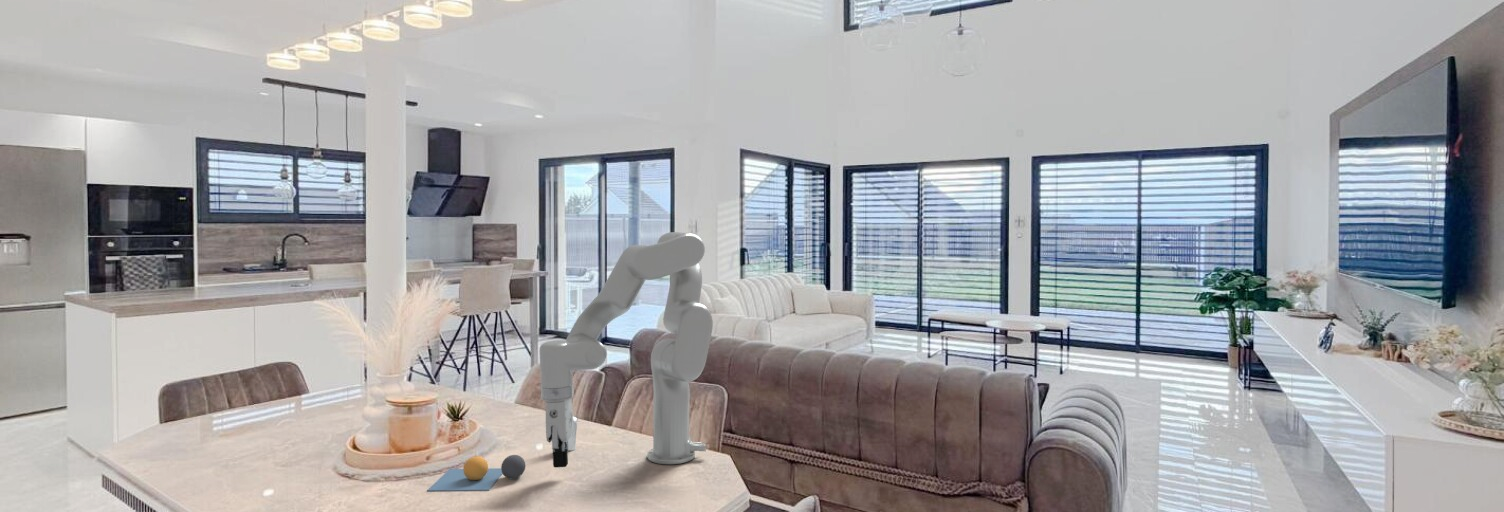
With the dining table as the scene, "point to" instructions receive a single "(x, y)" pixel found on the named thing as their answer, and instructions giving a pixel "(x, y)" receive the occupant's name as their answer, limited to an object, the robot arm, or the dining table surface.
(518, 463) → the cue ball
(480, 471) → the object ball
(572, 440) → the milkshake
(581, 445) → the dining table surface
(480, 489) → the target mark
